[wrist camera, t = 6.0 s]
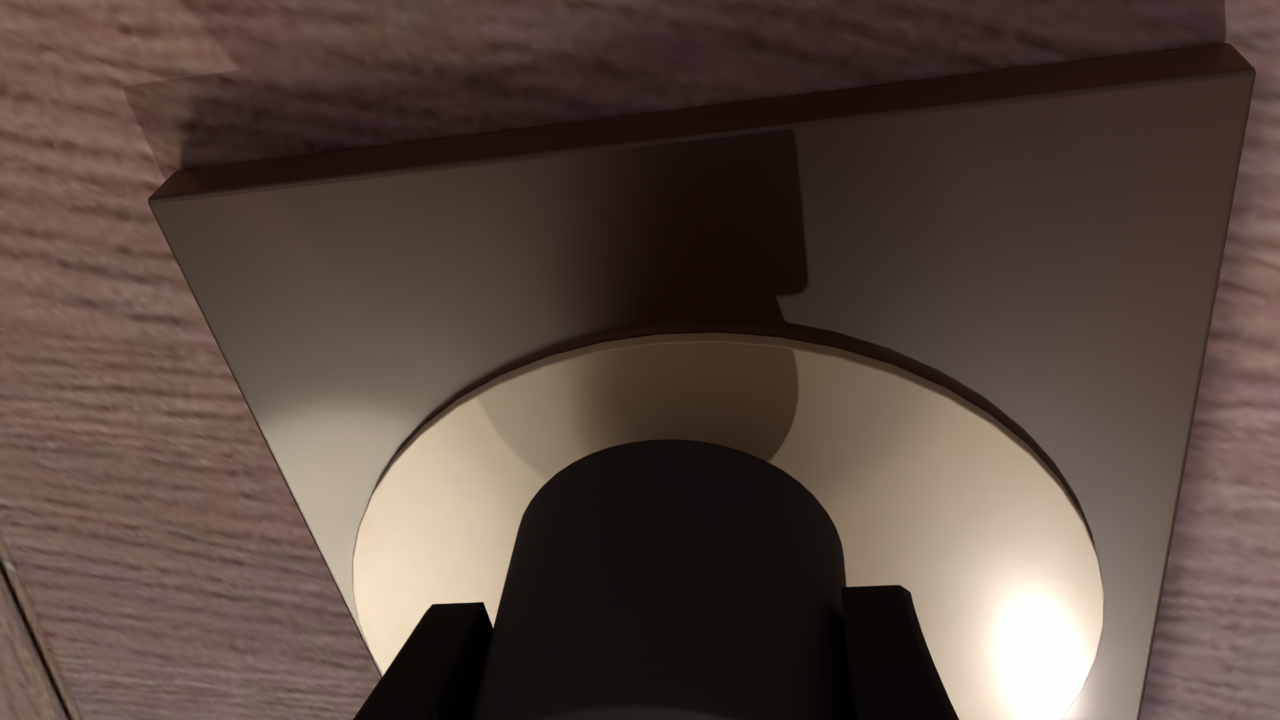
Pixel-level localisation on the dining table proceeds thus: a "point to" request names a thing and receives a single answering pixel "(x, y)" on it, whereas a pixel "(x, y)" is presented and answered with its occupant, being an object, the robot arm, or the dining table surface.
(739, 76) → the dining table surface
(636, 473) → the dot
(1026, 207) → the board
